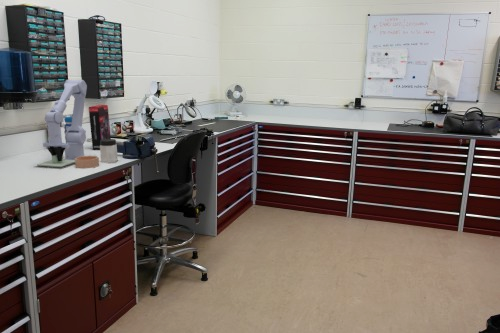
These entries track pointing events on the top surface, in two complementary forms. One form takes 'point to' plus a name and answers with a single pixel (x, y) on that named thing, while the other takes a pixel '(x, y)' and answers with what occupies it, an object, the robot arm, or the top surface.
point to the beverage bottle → (67, 124)
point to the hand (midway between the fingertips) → (57, 160)
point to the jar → (108, 150)
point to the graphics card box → (99, 124)
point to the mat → (56, 167)
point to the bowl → (87, 162)
